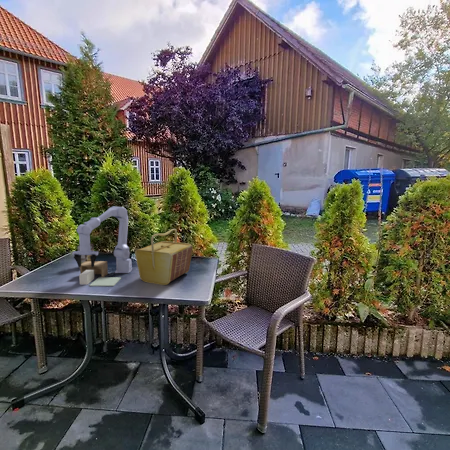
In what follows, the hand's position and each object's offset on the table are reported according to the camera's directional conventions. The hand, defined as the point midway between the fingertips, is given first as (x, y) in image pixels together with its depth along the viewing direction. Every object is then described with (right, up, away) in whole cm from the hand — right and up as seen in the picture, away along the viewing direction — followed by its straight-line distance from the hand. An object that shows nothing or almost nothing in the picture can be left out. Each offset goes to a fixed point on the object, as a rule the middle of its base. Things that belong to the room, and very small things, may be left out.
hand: (86, 266), depth 176 cm
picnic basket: (+46, -9, +11) cm, 48 cm away
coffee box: (-14, -5, +31) cm, 34 cm away
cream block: (0, -9, +2) cm, 10 cm away
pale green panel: (+11, -10, +1) cm, 15 cm away
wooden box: (0, -8, +12) cm, 15 cm away
